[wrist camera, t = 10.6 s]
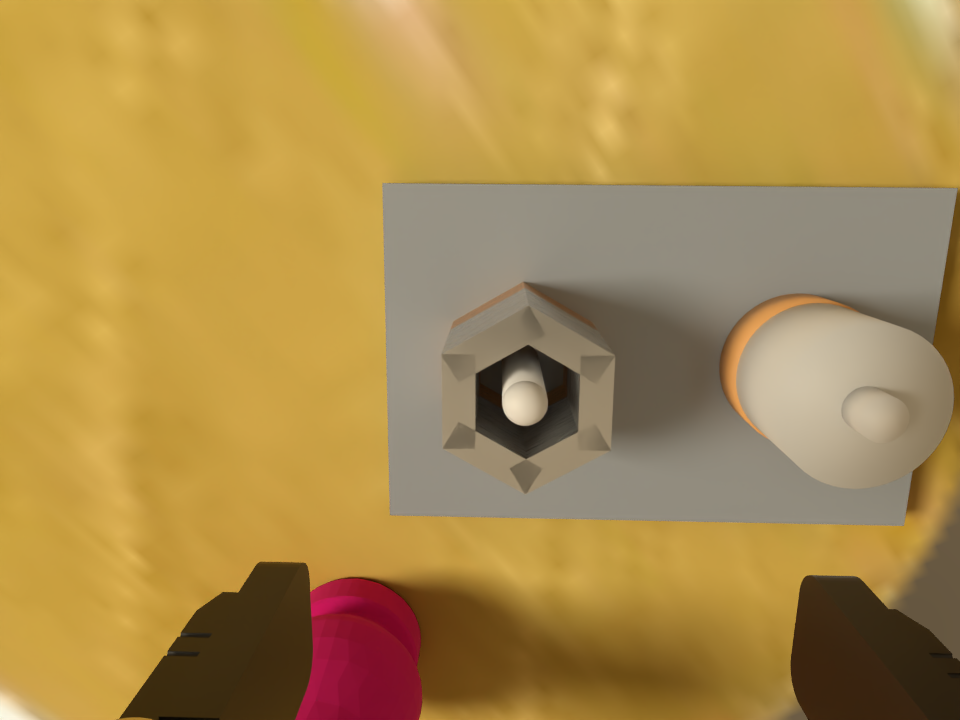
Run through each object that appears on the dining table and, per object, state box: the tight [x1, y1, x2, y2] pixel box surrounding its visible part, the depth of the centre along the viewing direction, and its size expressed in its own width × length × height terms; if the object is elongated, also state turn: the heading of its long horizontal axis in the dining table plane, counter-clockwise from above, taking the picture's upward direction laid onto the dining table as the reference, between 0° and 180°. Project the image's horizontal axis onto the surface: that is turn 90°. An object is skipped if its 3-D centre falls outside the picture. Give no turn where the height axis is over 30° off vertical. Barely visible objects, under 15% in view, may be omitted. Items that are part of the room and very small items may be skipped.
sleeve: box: [441, 282, 615, 495], centre depth 26 cm, size 6×6×6 cm
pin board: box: [383, 183, 958, 526], centre depth 26 cm, size 14×22×9 cm, turn 90°
